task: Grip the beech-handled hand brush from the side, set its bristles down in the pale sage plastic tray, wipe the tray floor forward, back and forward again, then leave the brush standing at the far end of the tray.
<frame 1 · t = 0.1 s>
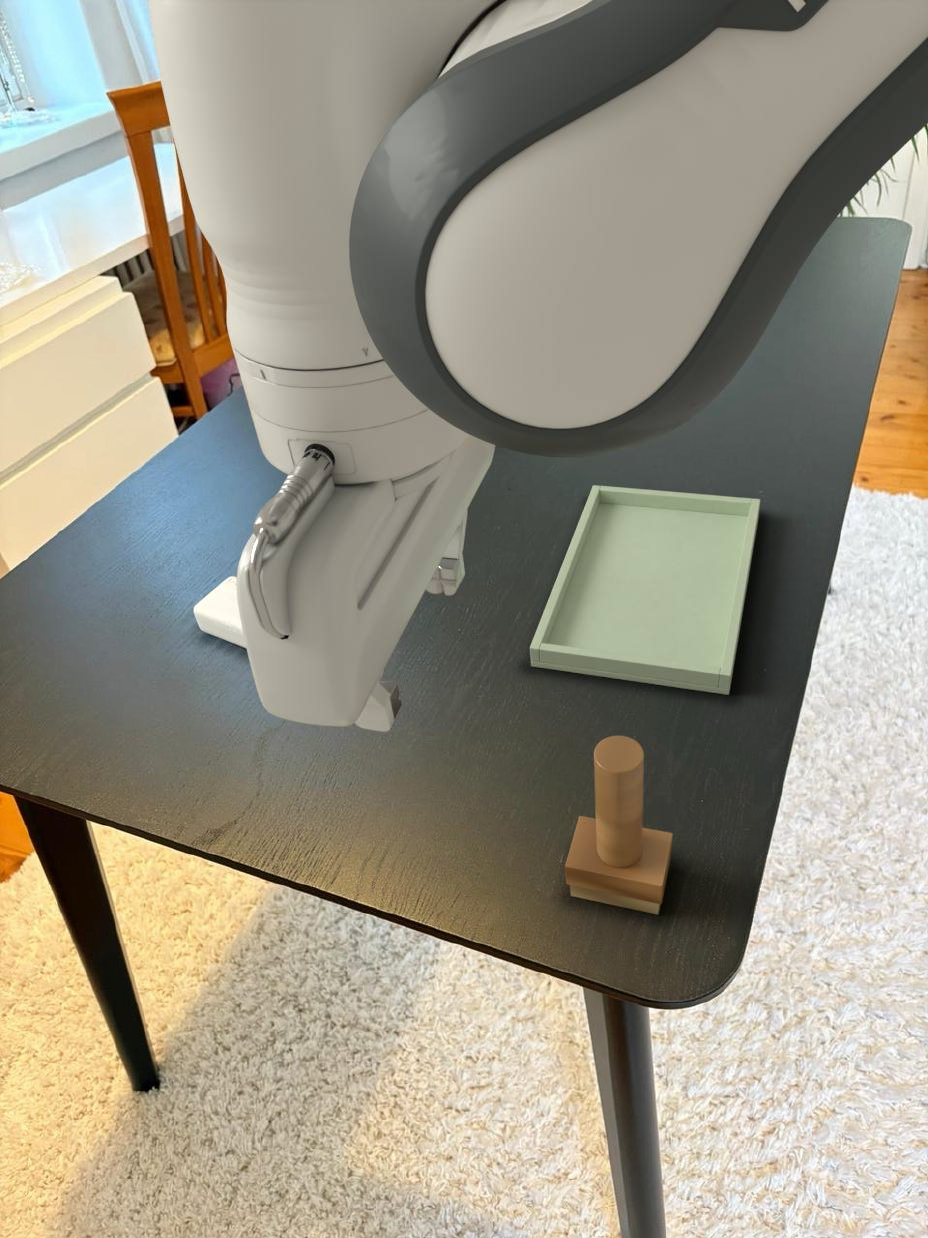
hand: (414, 648, 47), 24 cm above the table, tool pointing down, fingers open, 8 cm apart
lemon: (332, 377, 122), on the table
lightbulb: (355, 450, 108), on the table
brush: (619, 881, 63), on the table
soap: (256, 630, 86), on the table
tray: (652, 587, 85), on the table
plant saucer: (499, 301, 135), on the table
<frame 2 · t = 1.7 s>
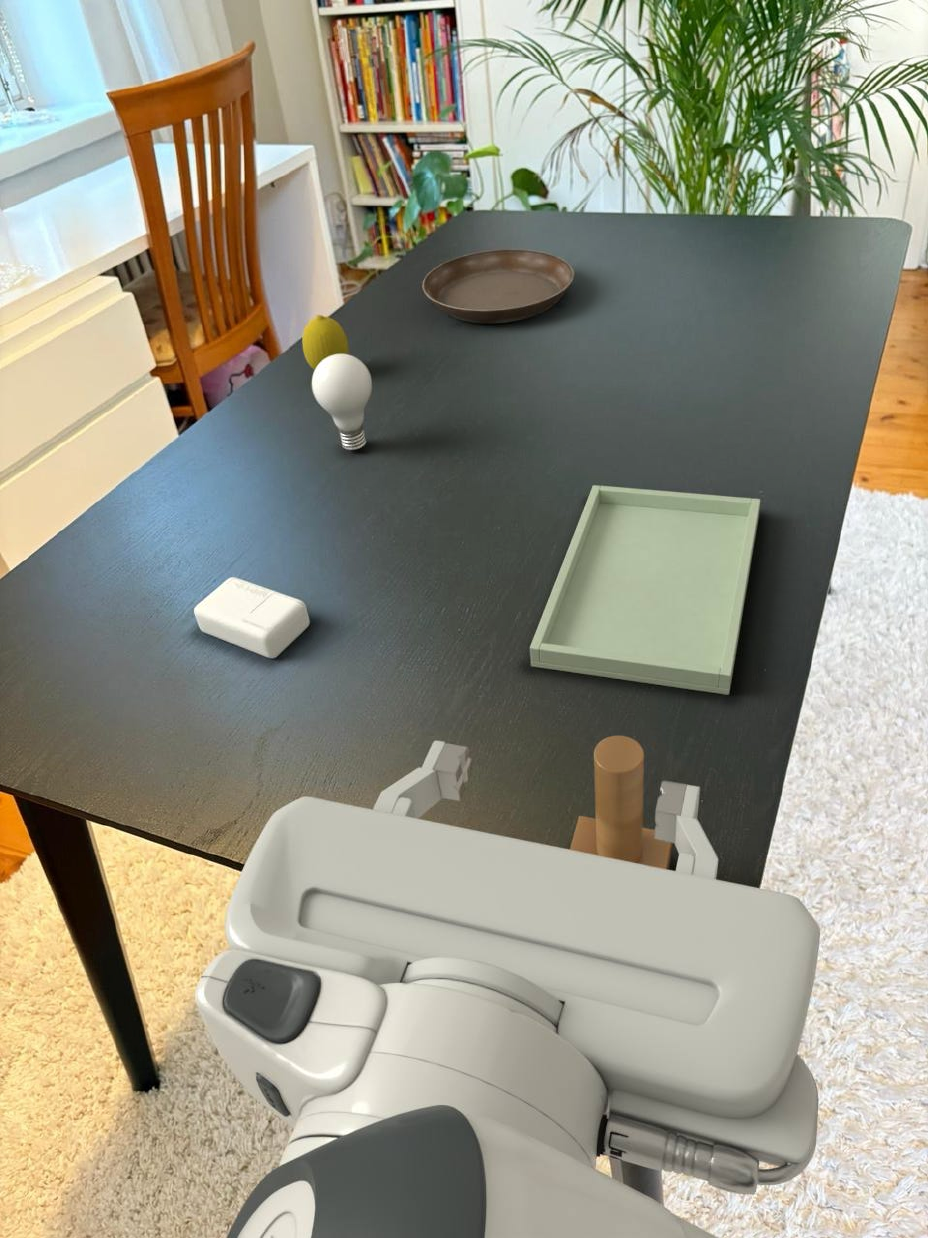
hand: (563, 772, 40), 24 cm above the table, tool horizontal, fingers open, 8 cm apart
nothing on the table moved.
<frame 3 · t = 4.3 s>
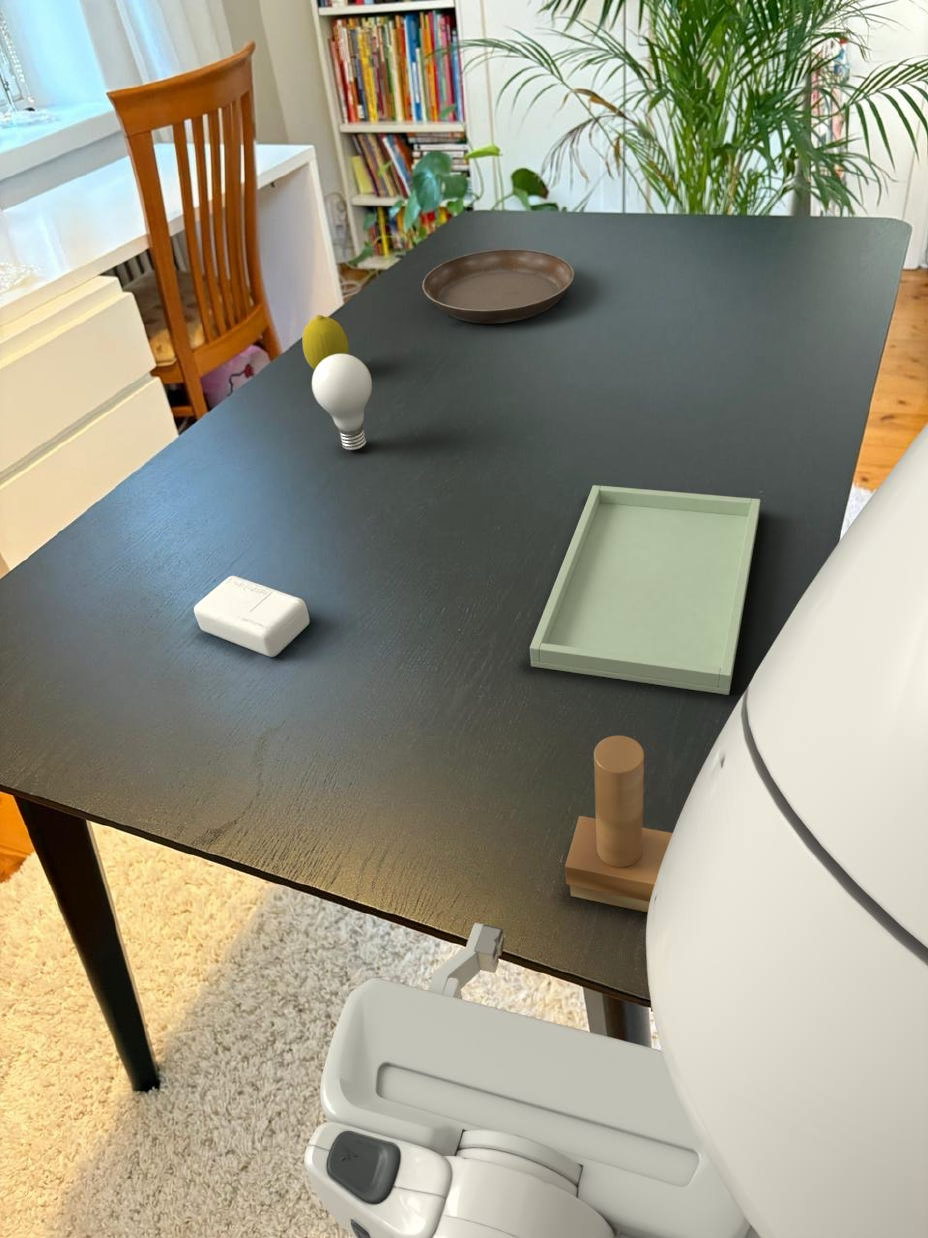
hand: (578, 951, 50), 9 cm above the table, tool horizontal, fingers open, 8 cm apart
nothing on the table moved.
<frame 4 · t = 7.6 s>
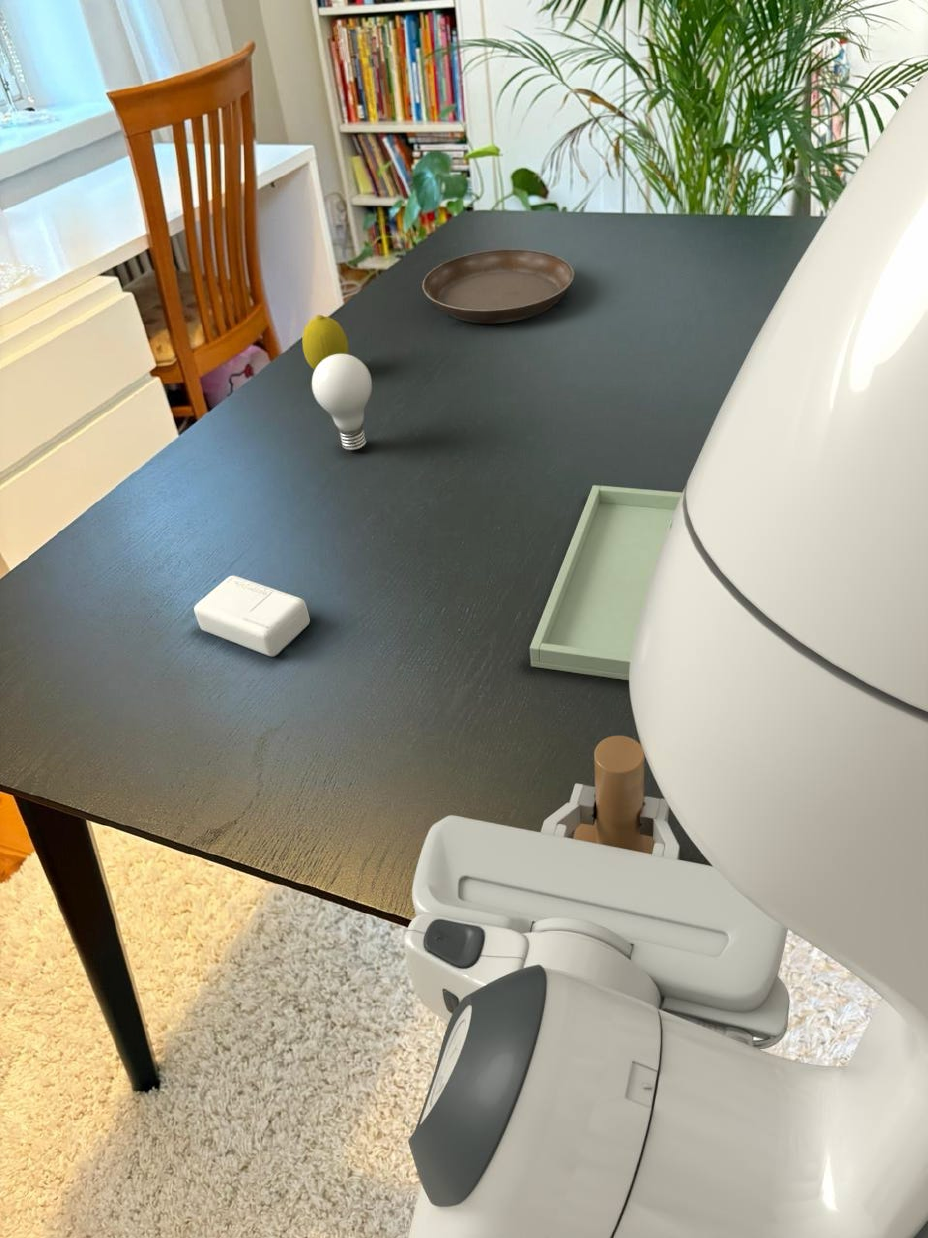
hand: (621, 797, 59), 8 cm above the table, tool horizontal, fingers closed on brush, 3 cm apart
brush: (619, 882, 63), on the table, touching gripper
everything else where it was.
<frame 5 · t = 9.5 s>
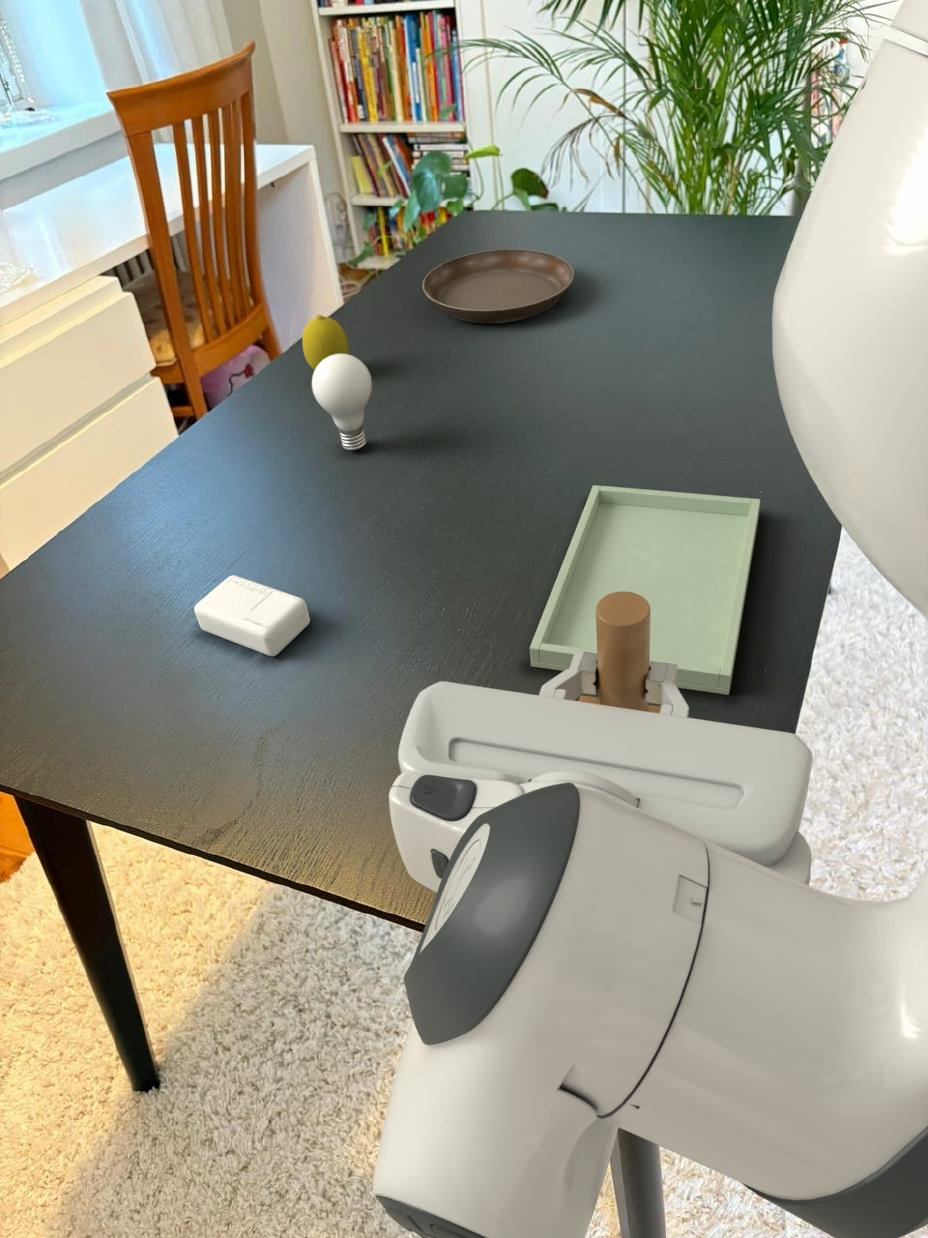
hand: (625, 665, 54), 16 cm above the table, tool horizontal, fingers closed on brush, 3 cm apart
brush: (624, 765, 59), point 9 cm above the table, touching gripper
everything else where it was.
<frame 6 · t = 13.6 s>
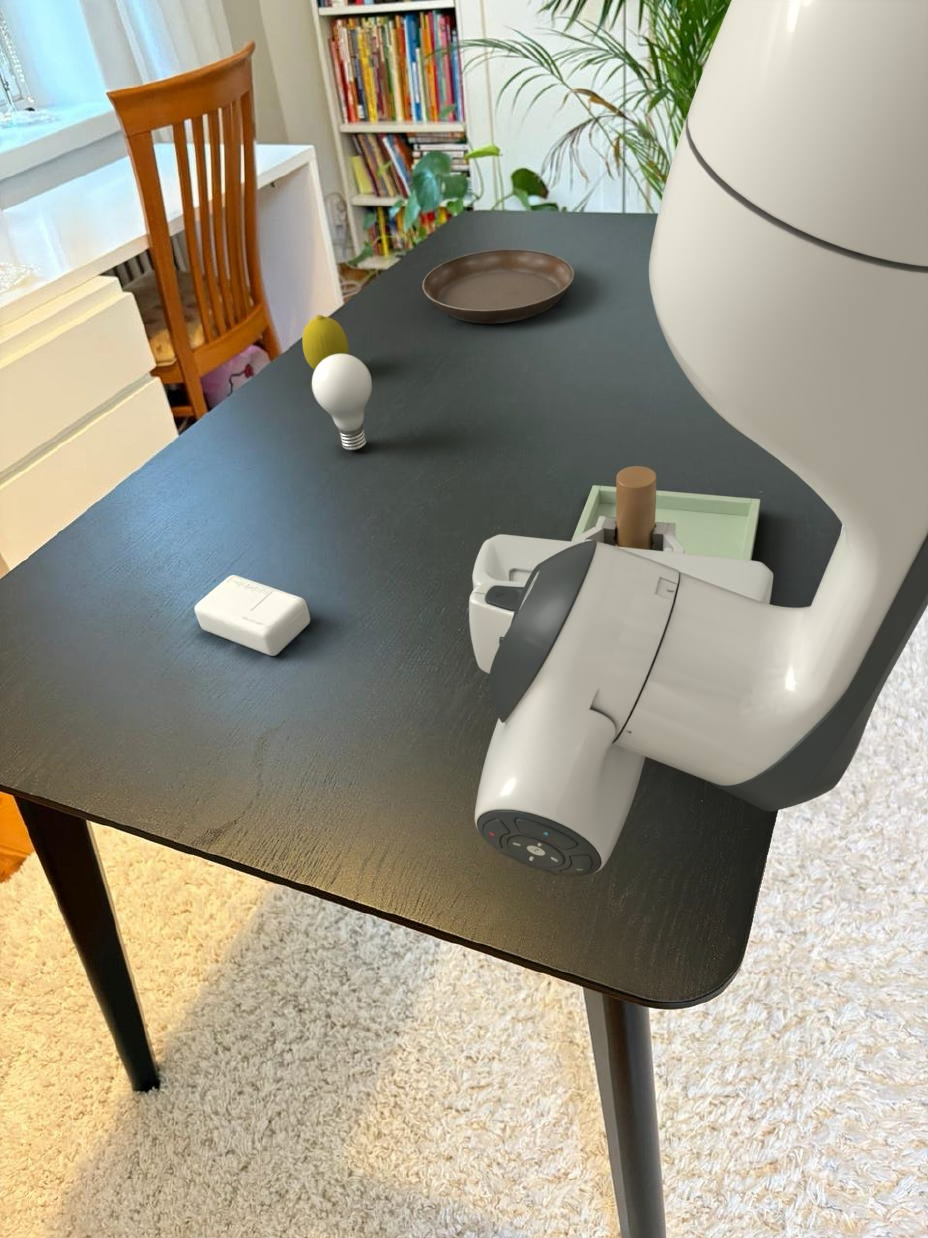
hand: (637, 526, 72), 11 cm above the table, tool horizontal, fingers closed on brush, 3 cm apart
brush: (634, 611, 77), point 4 cm above the table, touching gripper
everything else where it was.
when the fingers open (8 cm above the table, at t = 24.5 s): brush stays where it is, resting on tray.
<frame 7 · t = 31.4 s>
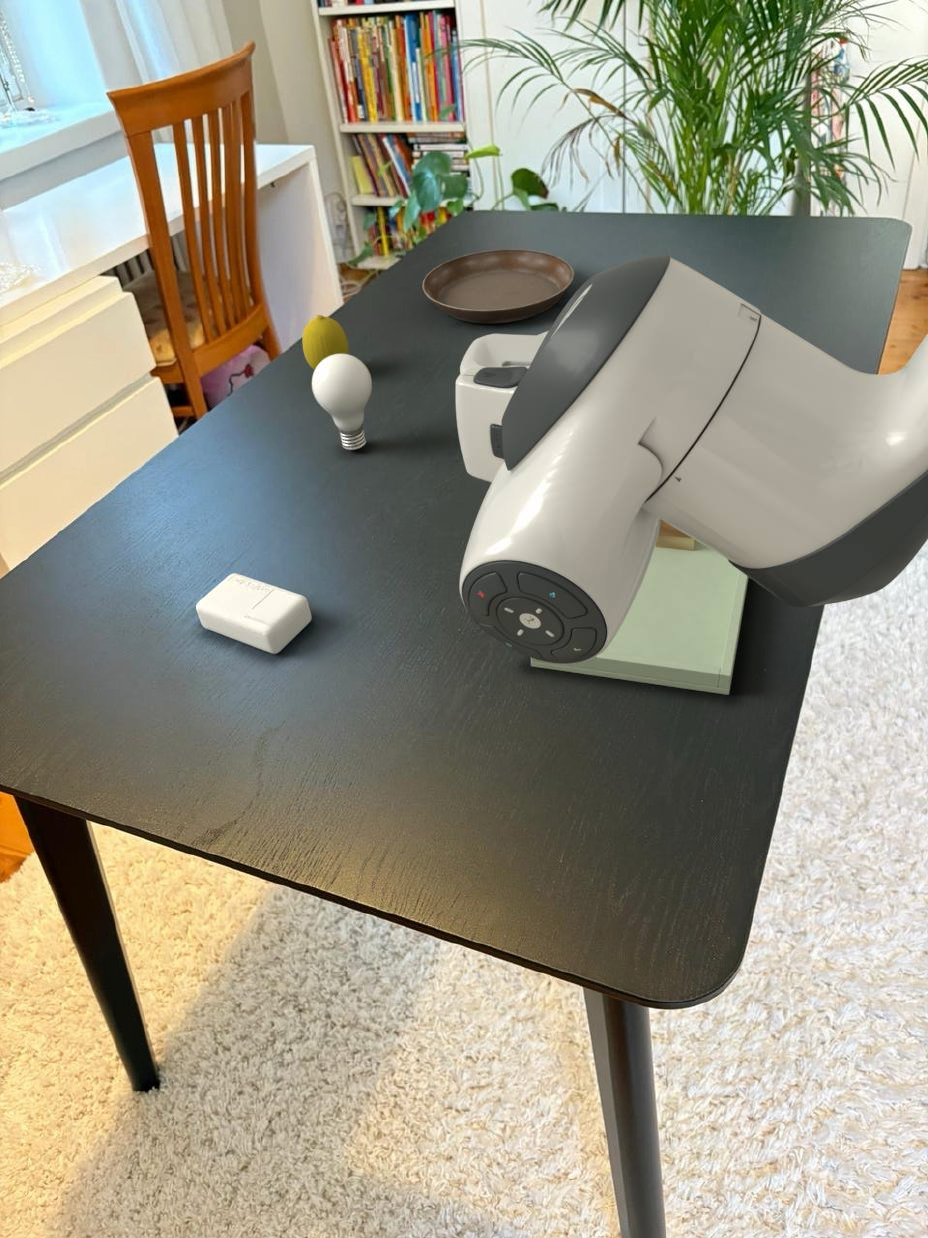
hand: (647, 330, 64), 26 cm above the table, tool horizontal, fingers open, 8 cm apart
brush: (665, 535, 89), point 1 cm above the table, touching tray
everything else where it was.
at the end: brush inside the target area in the tray (0.3 cm from its centre), point 0.6 cm above the tray's base; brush moved 36.9 cm from its start; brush tilted 0° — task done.
